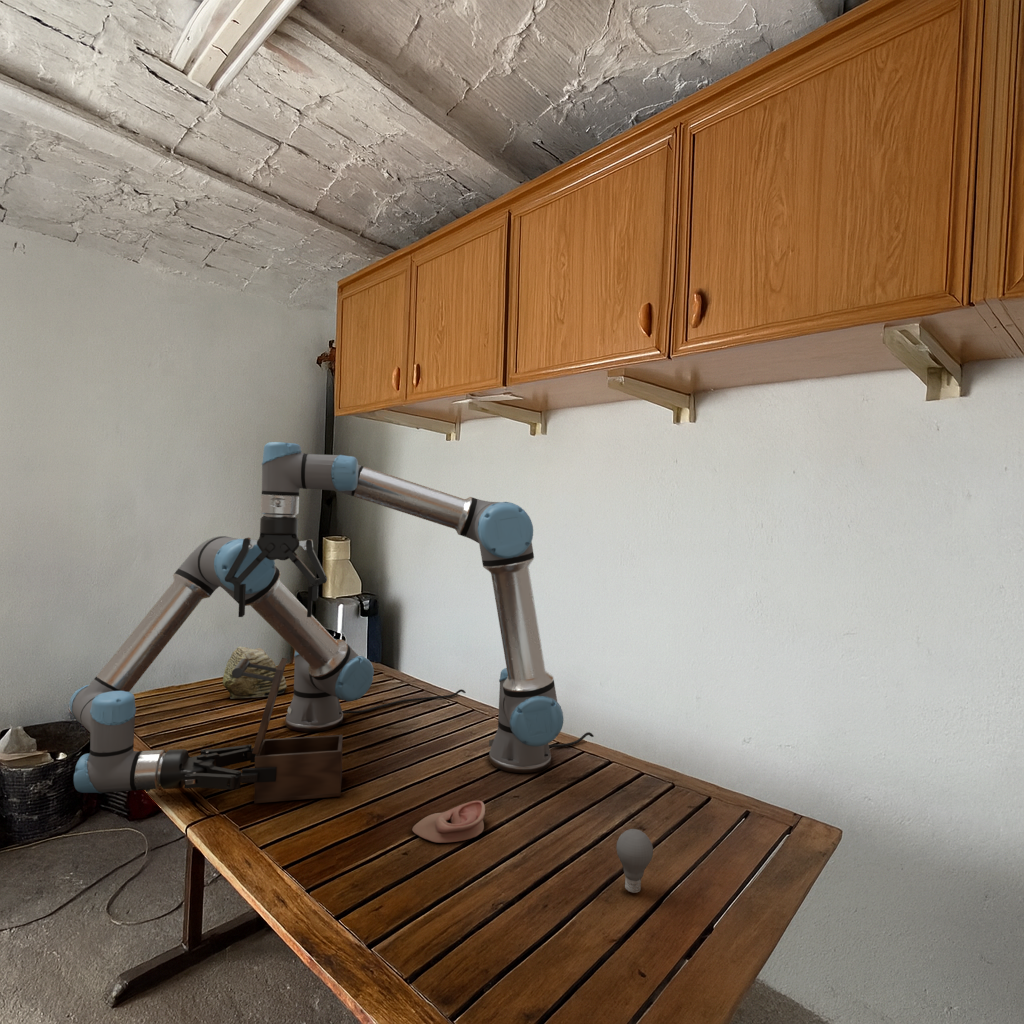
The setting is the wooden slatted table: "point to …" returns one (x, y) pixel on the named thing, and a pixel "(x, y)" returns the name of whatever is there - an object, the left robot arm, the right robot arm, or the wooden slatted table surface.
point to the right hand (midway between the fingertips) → (275, 616)
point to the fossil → (249, 685)
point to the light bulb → (634, 857)
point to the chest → (300, 768)
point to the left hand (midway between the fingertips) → (279, 763)
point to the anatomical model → (453, 823)
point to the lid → (276, 681)
